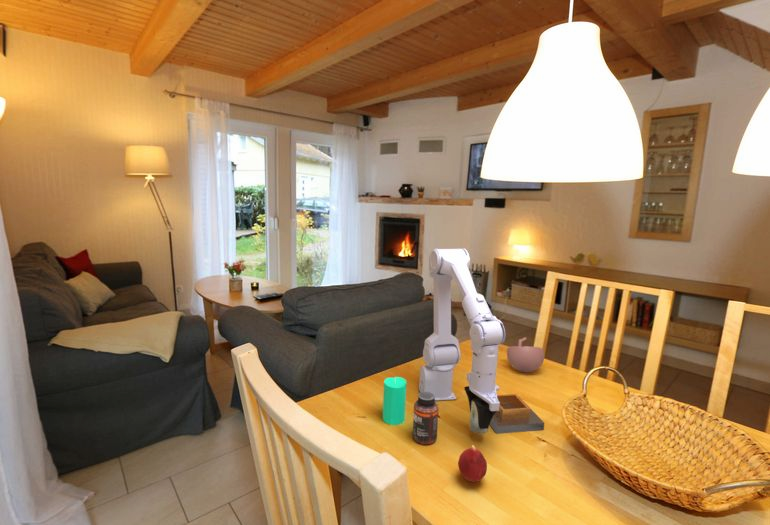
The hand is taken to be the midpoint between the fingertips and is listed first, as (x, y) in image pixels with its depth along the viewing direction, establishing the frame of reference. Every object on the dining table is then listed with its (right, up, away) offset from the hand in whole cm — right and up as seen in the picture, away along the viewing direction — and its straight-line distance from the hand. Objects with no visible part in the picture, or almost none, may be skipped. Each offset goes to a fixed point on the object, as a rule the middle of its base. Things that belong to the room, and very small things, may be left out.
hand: (479, 421), depth 94 cm
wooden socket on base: (+10, -3, +11) cm, 15 cm away
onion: (-5, -7, -13) cm, 16 cm away
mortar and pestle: (+25, +1, +39) cm, 46 cm away
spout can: (0, -2, 0) cm, 2 cm away
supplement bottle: (-13, -4, +1) cm, 14 cm away
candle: (-21, -3, +8) cm, 22 cm away
